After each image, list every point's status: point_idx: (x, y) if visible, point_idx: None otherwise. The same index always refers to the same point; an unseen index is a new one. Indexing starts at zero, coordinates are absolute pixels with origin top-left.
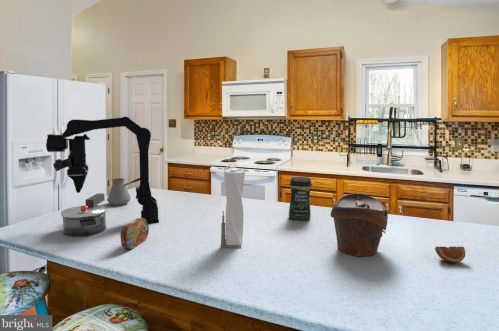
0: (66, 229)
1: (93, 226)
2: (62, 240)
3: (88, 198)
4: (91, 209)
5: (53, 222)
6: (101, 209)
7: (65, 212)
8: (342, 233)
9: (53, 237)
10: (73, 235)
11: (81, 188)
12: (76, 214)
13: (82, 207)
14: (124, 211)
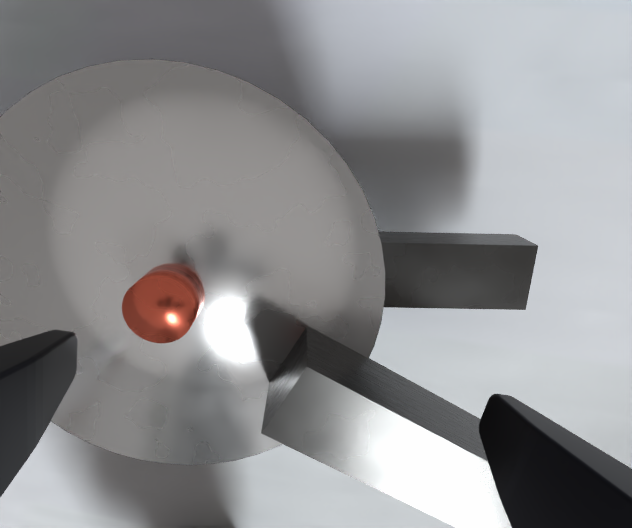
0: None
1: None
2: (43, 69)
3: (366, 404)
4: (170, 354)
5: (578, 52)
6: (129, 423)
7: (158, 110)
8: None
9: (146, 13)
10: None
11: (485, 437)
12: (18, 205)
13: (128, 290)
14: None
